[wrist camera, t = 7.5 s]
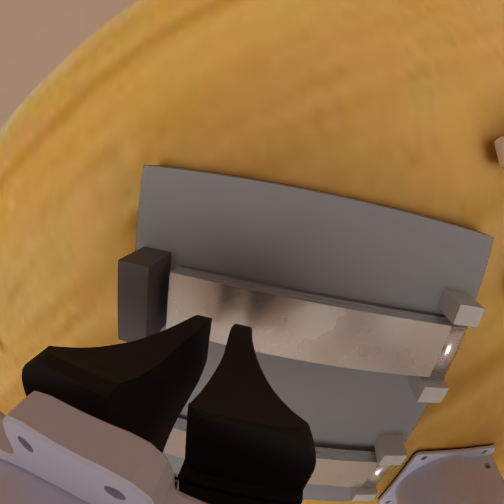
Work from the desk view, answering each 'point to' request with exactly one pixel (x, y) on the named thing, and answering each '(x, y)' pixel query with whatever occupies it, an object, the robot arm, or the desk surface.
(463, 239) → the base plate
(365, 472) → the strip
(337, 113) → the desk surface
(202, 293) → the front strap
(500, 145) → the cable organizer
